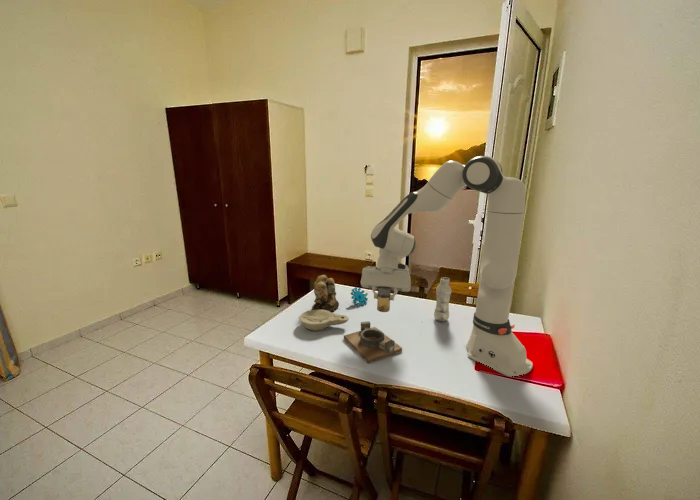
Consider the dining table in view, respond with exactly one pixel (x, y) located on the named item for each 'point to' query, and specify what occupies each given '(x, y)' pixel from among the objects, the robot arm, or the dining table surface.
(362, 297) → the teal virus model
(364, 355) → the shaft seat
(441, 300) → the plastic bottle
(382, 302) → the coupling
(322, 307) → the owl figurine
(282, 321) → the dining table surface
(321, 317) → the oil lamp
